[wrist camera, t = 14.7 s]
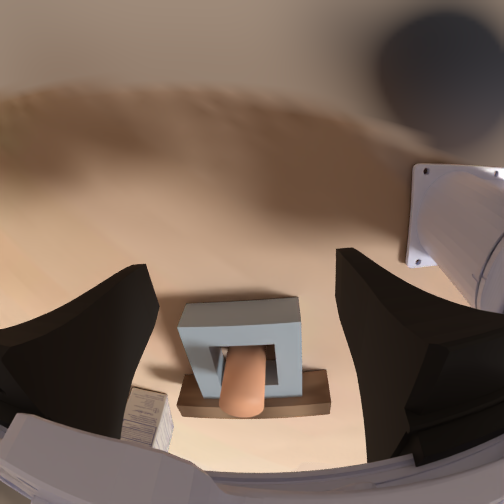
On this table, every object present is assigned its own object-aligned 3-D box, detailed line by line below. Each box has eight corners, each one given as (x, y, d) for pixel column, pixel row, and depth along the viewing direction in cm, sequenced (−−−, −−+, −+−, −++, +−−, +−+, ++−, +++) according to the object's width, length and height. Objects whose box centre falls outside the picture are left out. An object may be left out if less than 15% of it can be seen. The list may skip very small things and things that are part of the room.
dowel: (263, 325, 25) (260, 392, 19) (269, 352, 26) (266, 416, 20) (226, 329, 25) (213, 394, 19) (234, 354, 27) (225, 417, 20)
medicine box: (132, 385, 30) (108, 445, 23) (169, 393, 30) (150, 457, 23) (143, 418, 34) (126, 471, 26) (175, 425, 34) (161, 481, 26)
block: (298, 297, 23) (301, 321, 21) (300, 372, 27) (302, 396, 25) (186, 303, 24) (177, 327, 22) (208, 375, 28) (203, 398, 25)
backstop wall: (326, 369, 27) (331, 402, 23) (325, 382, 28) (329, 414, 24) (185, 374, 28) (176, 405, 25) (190, 386, 29) (182, 416, 26)
